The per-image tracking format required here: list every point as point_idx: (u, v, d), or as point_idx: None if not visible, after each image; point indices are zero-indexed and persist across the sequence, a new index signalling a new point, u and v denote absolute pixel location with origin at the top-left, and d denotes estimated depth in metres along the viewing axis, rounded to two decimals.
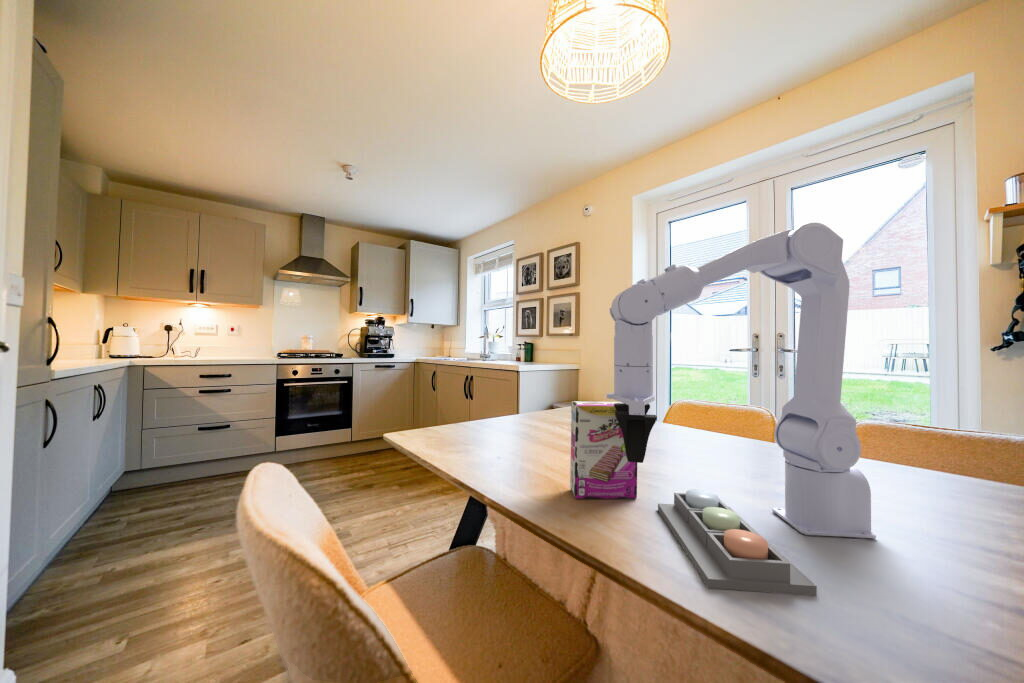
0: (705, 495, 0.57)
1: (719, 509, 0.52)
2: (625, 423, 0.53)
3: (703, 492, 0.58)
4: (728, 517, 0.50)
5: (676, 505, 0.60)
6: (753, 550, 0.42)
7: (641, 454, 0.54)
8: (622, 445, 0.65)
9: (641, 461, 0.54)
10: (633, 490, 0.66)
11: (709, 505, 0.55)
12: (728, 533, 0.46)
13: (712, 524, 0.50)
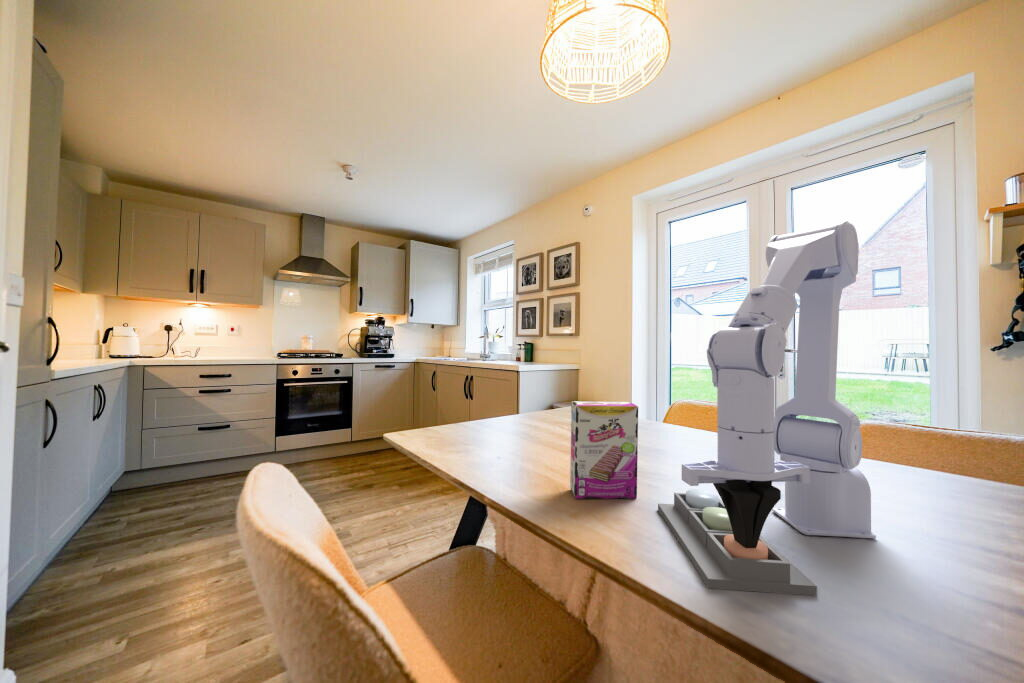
0: (705, 495, 0.57)
1: (719, 509, 0.52)
2: (719, 490, 0.46)
3: (703, 492, 0.58)
4: (728, 517, 0.50)
5: (676, 505, 0.60)
6: (753, 555, 0.42)
7: (743, 536, 0.44)
8: (622, 445, 0.65)
9: (744, 546, 0.44)
10: (633, 490, 0.66)
11: (709, 505, 0.55)
12: (728, 538, 0.46)
13: (712, 524, 0.50)
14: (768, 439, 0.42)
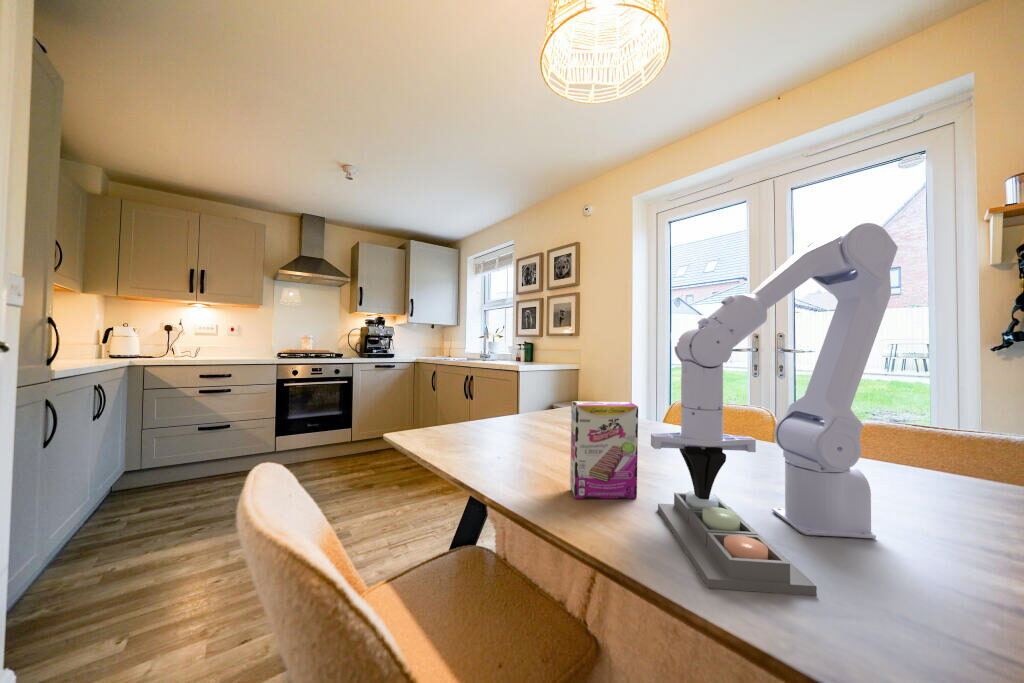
0: None
1: (719, 509, 0.52)
2: (683, 455, 0.59)
3: None
4: (728, 517, 0.50)
5: (676, 505, 0.60)
6: (753, 556, 0.42)
7: (698, 490, 0.57)
8: (622, 444, 0.65)
9: (699, 497, 0.57)
10: (633, 490, 0.66)
11: (709, 506, 0.55)
12: (728, 539, 0.46)
13: (712, 524, 0.50)
14: (714, 415, 0.55)
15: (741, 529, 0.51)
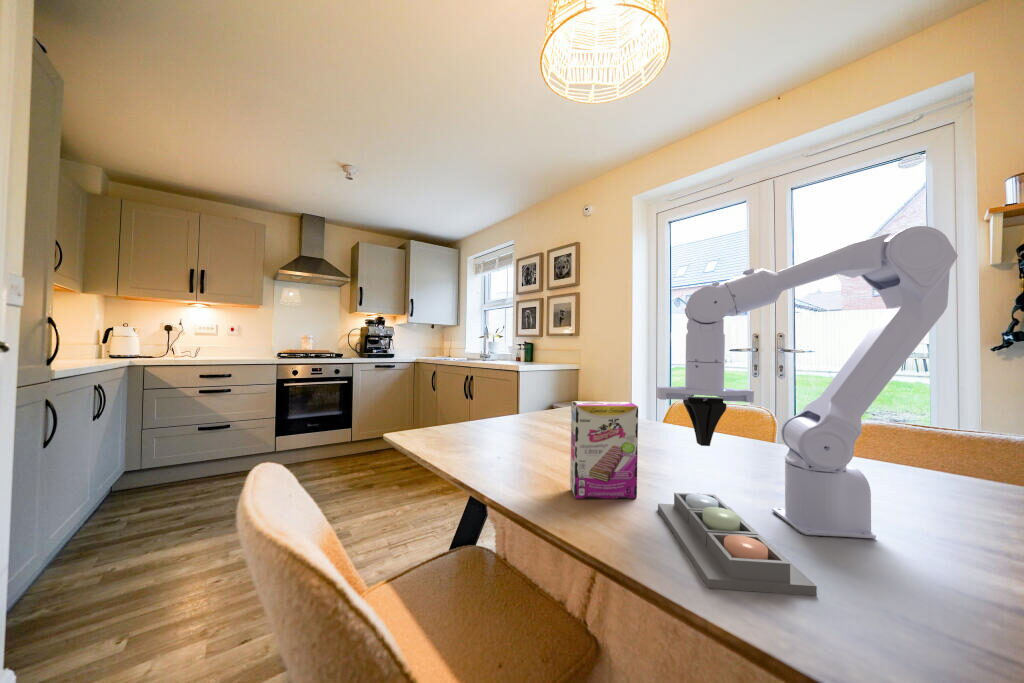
0: (705, 500, 0.57)
1: (719, 509, 0.52)
2: (686, 407, 0.64)
3: (703, 497, 0.58)
4: (728, 517, 0.50)
5: (676, 505, 0.60)
6: (753, 556, 0.42)
7: (700, 437, 0.62)
8: (622, 444, 0.65)
9: (700, 444, 0.62)
10: (633, 490, 0.66)
11: None
12: (728, 539, 0.46)
13: (712, 524, 0.50)
14: (716, 367, 0.60)
15: (741, 529, 0.51)
